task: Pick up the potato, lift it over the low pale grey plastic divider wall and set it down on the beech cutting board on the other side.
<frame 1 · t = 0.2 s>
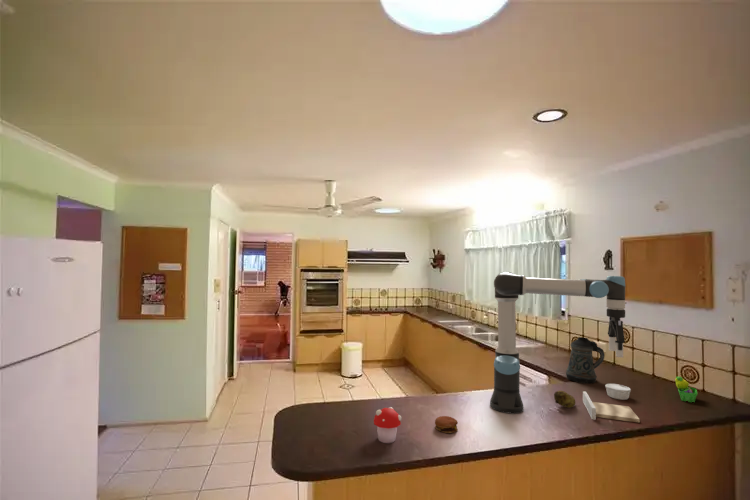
hand: (615, 353, 181), 27 cm above the counter, tool pointing down, fingers open, 13 cm apart
burger: (446, 430, 159), on the counter
fruit basket: (686, 399, 200), on the counter
ramekin: (617, 397, 202), on the counter
beer stein: (583, 379, 231), on the counter
mushroom: (387, 439, 149), on the counter
cutting board: (613, 413, 179), on the counter
potato: (565, 407, 186), on the counter
divider wall: (588, 409, 183), on the counter
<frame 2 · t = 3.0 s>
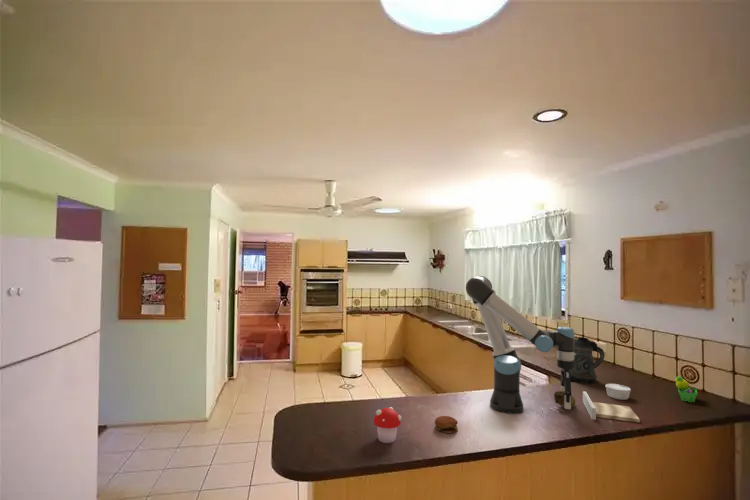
hand: (565, 404, 186), 1 cm above the counter, tool pointing down, fingers open, 12 cm apart
potato: (565, 407, 186), on the counter, touching gripper
everything else where it was.
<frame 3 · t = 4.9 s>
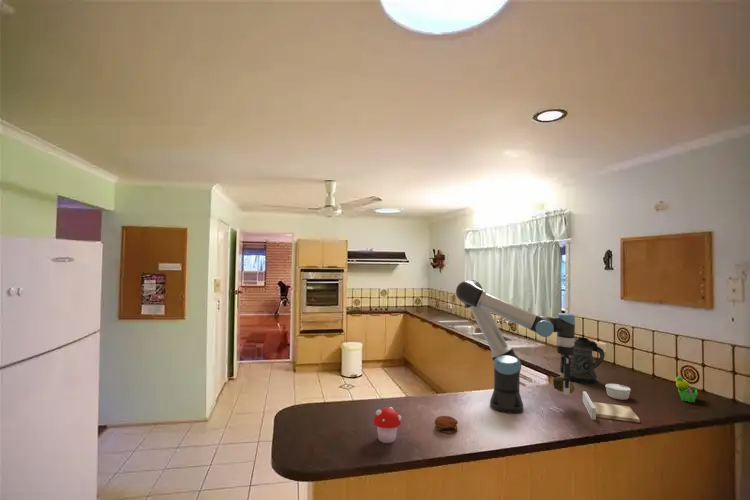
hand: (564, 390, 187), 8 cm above the counter, tool pointing down, fingers closed on potato, 12 cm apart
potato: (564, 393, 186), point 6 cm above the counter, touching gripper
everything else where it was.
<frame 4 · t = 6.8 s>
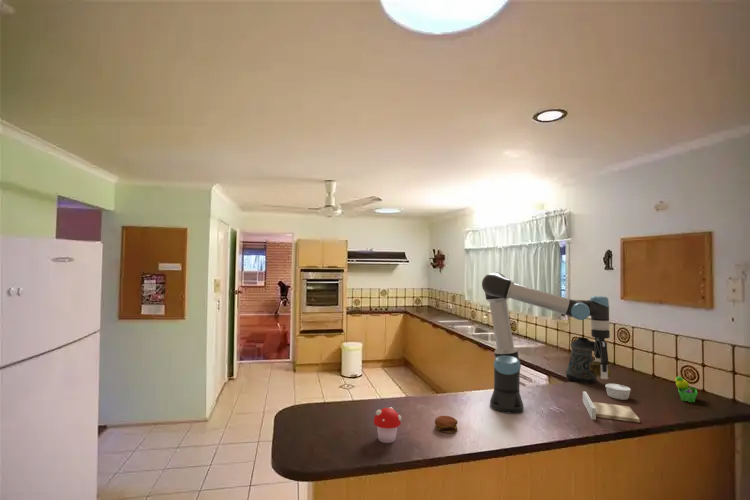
hand: (601, 375, 181), 17 cm above the counter, tool pointing down, fingers closed on potato, 12 cm apart
potato: (601, 378, 181), point 16 cm above the counter, touching gripper
everything else where it was.
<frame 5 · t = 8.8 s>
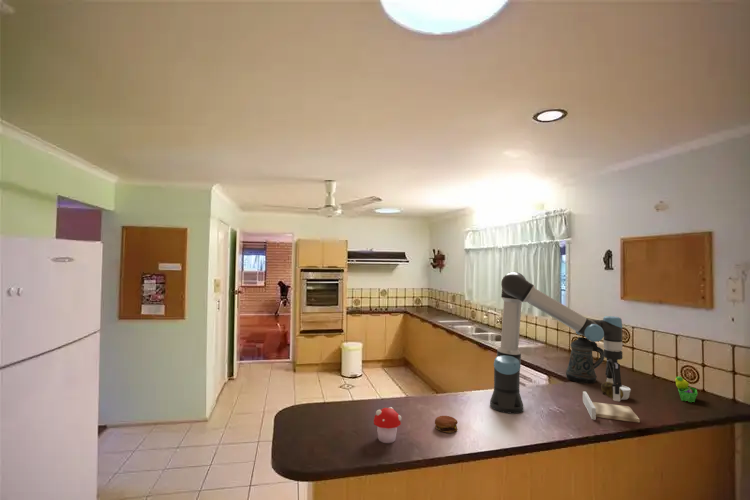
hand: (613, 396, 180), 8 cm above the counter, tool pointing down, fingers closed on potato, 12 cm apart
potato: (613, 399, 179), point 6 cm above the counter, touching gripper
everything else where it was.
when the fingers open (4 cm above the counter, at t = 10.2 s): potato drops 1 cm, resting on cutting board.
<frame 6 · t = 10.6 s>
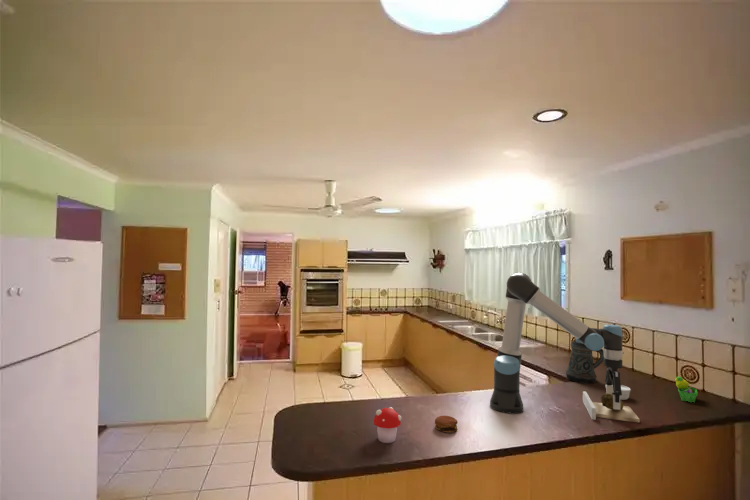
hand: (613, 404, 179), 4 cm above the counter, tool pointing down, fingers open, 13 cm apart
potato: (613, 410, 179), point 1 cm above the counter, touching cutting board
everything else where it was.
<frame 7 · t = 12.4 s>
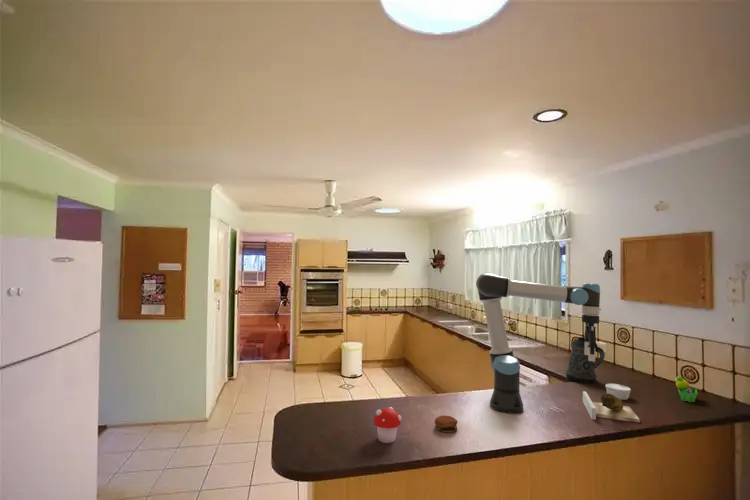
hand: (589, 357, 189), 23 cm above the counter, tool pointing down, fingers open, 13 cm apart
nothing on the counter moved.
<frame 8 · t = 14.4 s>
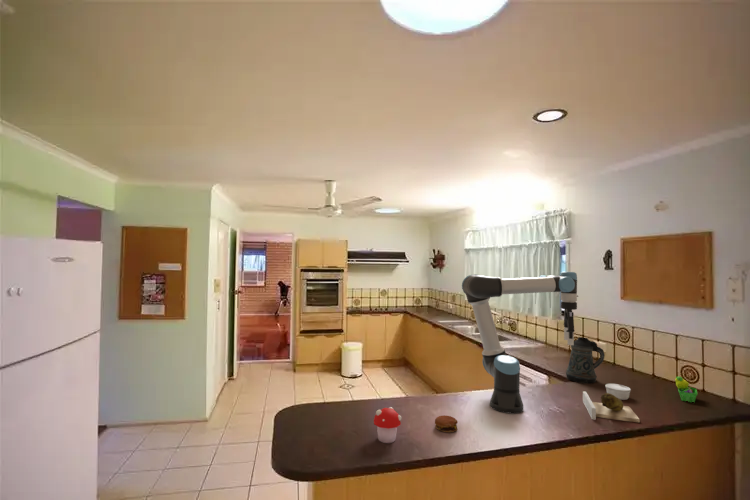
hand: (568, 342, 199), 29 cm above the counter, tool pointing down, fingers open, 13 cm apart
nothing on the counter moved.
at the end: potato inside the target area on the cutting board (0.5 cm from its centre), point 1.3 cm above the cutting board's base; the gripper is holding nothing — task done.
